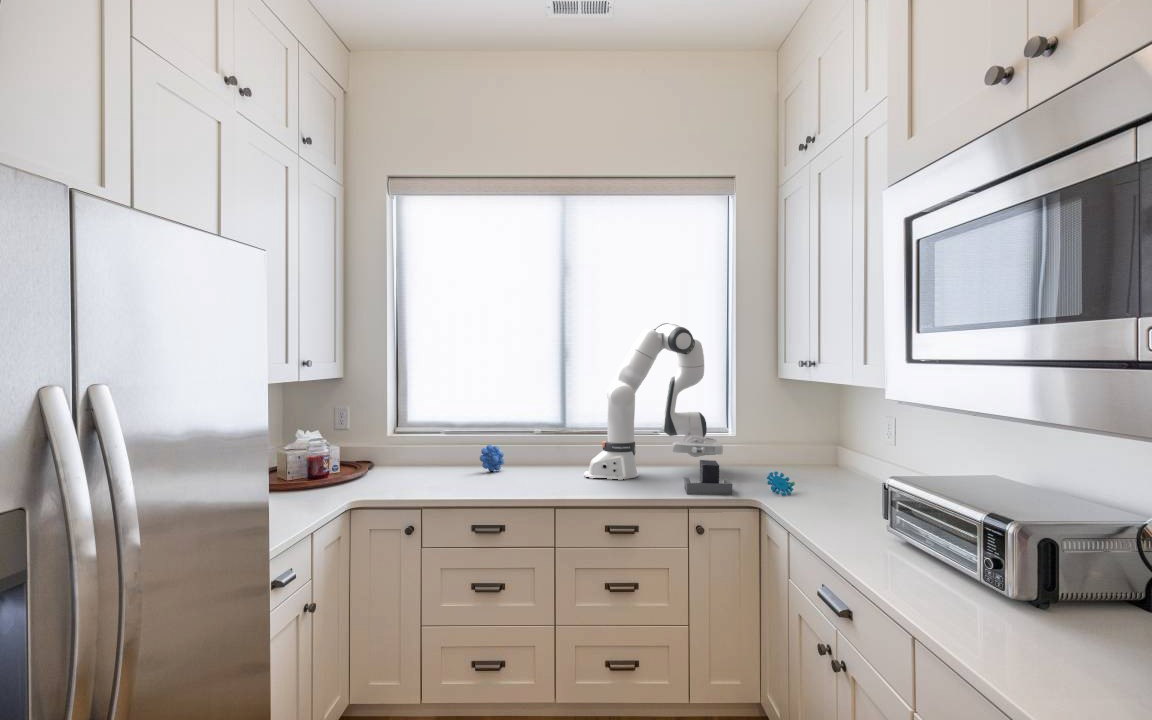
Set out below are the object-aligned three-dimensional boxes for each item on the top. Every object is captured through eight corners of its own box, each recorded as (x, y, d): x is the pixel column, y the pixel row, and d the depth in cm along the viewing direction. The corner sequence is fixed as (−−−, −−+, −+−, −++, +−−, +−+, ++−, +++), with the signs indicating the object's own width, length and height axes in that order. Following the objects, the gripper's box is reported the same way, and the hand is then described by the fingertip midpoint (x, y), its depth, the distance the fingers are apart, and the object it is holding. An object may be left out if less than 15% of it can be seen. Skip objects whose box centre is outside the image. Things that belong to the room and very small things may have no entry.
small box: (720, 494, 213) (720, 464, 213) (701, 493, 214) (701, 464, 214) (716, 487, 224) (716, 459, 224) (699, 487, 225) (698, 459, 225)
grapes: (484, 475, 250) (484, 446, 250) (477, 472, 255) (477, 444, 255) (508, 472, 256) (508, 444, 256) (501, 469, 262) (501, 442, 262)
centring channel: (687, 494, 213) (686, 483, 213) (684, 488, 223) (684, 477, 223) (732, 494, 212) (732, 483, 212) (727, 488, 222) (727, 478, 222)
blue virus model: (773, 492, 208) (764, 468, 215) (765, 501, 212) (757, 478, 219) (801, 495, 210) (791, 471, 217) (792, 504, 214) (783, 480, 221)
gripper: (670, 437, 251) (673, 442, 238) (719, 439, 250) (725, 444, 236) (670, 452, 252) (672, 457, 238) (719, 454, 250) (724, 460, 236)
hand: (699, 451), depth 237 cm, fingers closed
